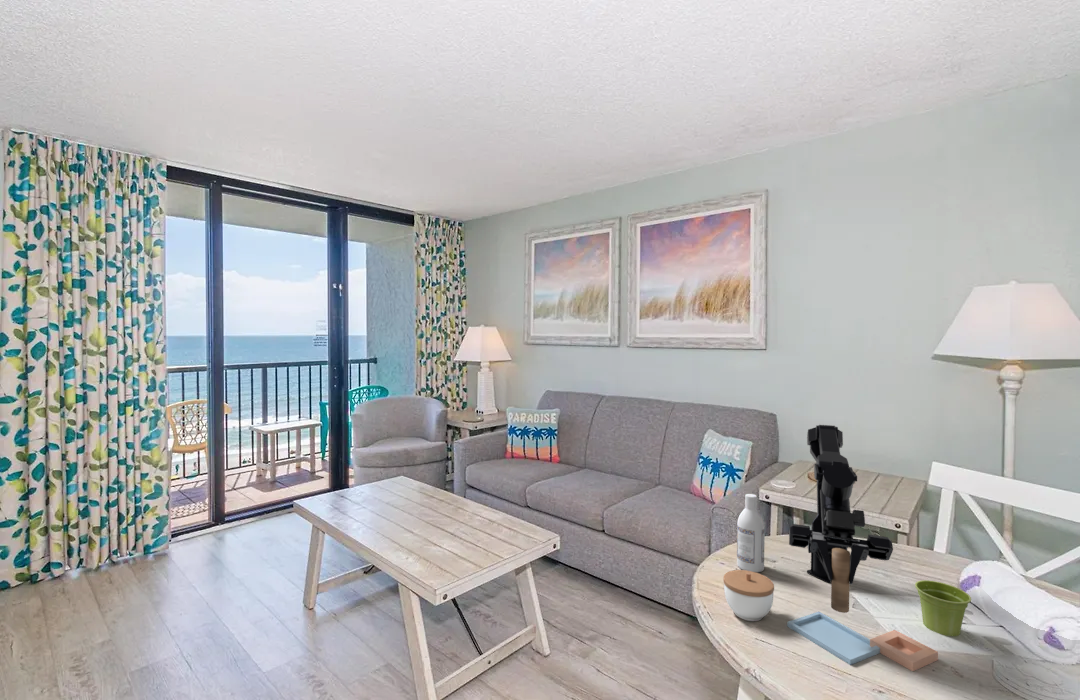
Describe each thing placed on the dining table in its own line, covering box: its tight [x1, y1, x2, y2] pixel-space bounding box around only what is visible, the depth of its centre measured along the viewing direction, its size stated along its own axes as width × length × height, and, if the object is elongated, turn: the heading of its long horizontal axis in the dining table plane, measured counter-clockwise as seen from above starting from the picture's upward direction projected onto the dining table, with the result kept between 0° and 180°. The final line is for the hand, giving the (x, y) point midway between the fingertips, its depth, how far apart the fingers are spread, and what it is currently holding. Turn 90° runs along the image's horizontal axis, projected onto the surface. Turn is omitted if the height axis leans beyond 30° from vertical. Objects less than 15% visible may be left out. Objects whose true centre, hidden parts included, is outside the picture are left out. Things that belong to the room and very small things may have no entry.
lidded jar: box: [723, 569, 775, 622], centre depth 114 cm, size 11×11×9 cm
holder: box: [869, 629, 939, 672], centre depth 99 cm, size 8×8×2 cm
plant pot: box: [914, 579, 972, 637], centre depth 108 cm, size 9×9×9 cm
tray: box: [786, 611, 881, 666], centre depth 104 cm, size 14×10×2 cm
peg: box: [830, 548, 851, 614], centre depth 103 cm, size 3×3×12 cm
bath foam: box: [736, 493, 766, 573], centre depth 137 cm, size 7×7×20 cm
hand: (841, 581), depth 102 cm, fingers closed on peg, 3 cm apart
